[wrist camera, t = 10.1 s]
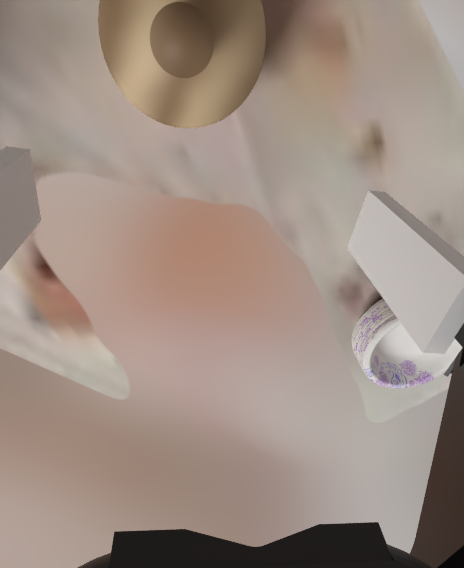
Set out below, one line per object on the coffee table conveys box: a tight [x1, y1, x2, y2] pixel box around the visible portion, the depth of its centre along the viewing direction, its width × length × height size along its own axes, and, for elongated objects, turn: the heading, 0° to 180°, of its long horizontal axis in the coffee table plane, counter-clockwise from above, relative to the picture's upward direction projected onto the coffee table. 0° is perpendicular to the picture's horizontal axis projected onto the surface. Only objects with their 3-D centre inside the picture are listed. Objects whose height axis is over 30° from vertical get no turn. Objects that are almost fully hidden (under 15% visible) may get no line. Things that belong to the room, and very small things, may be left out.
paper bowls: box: [352, 299, 462, 388], centre depth 54 cm, size 15×15×8 cm
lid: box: [98, 0, 266, 128], centre depth 26 cm, size 13×13×8 cm
